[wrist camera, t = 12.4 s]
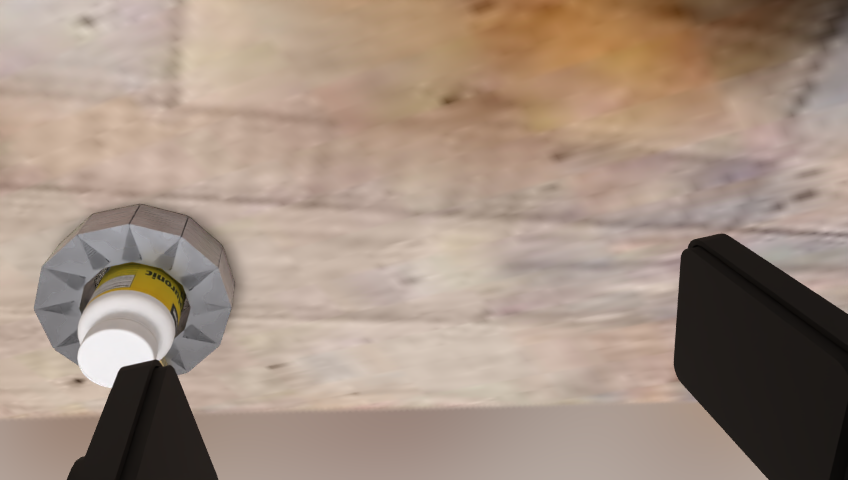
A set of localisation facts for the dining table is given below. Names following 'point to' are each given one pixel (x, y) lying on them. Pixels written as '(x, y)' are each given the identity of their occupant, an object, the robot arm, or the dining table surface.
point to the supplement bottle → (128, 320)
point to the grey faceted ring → (150, 245)
